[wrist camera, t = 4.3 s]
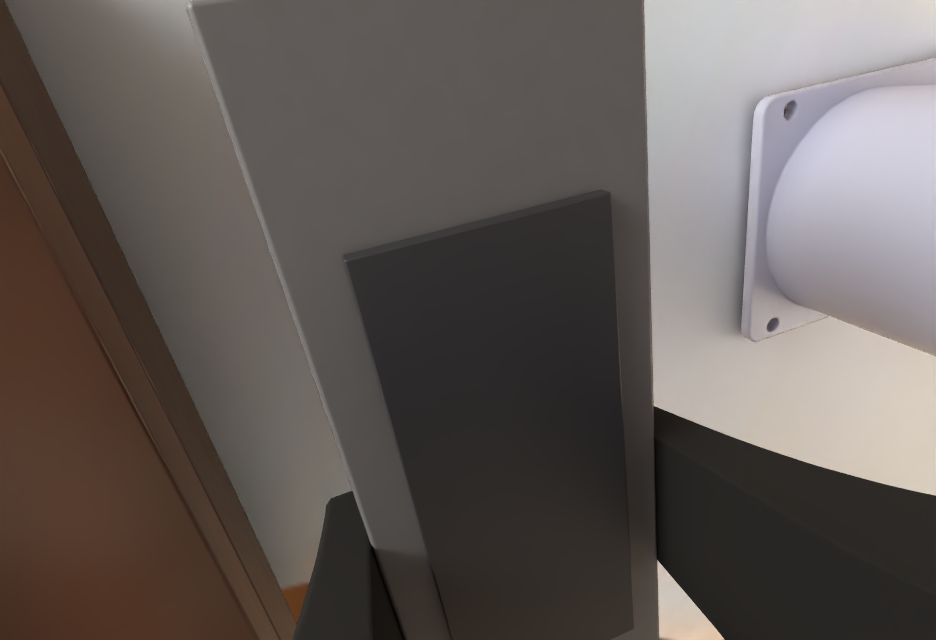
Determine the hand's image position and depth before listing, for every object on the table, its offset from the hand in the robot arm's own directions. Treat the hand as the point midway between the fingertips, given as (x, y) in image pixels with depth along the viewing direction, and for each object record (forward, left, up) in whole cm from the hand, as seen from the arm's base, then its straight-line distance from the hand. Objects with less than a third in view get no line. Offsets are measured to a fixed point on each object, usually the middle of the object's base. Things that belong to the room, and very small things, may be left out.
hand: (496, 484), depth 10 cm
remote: (0, 0, -1) cm, 1 cm away
